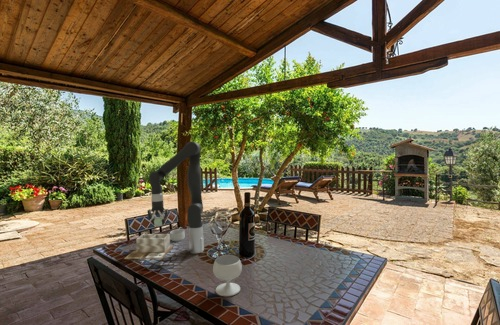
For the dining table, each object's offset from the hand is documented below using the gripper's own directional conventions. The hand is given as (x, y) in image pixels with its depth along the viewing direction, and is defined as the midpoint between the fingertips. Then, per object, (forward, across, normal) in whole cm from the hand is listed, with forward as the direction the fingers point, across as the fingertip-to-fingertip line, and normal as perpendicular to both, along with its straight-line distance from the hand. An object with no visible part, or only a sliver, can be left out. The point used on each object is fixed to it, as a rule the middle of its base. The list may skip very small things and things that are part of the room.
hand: (158, 224), depth 171 cm
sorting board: (+19, +5, +4) cm, 20 cm away
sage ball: (+1, 0, 0) cm, 1 cm away
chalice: (+20, -53, +49) cm, 75 cm away
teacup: (+20, -6, -23) cm, 30 cm away
